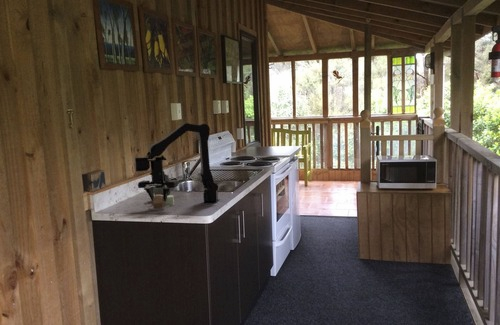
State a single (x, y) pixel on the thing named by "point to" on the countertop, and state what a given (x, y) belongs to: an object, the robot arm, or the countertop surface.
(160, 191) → the mortar and pestle
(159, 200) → the walnut block
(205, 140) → the robot arm
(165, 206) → the slate coaster
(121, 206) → the countertop surface
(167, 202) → the sage block
